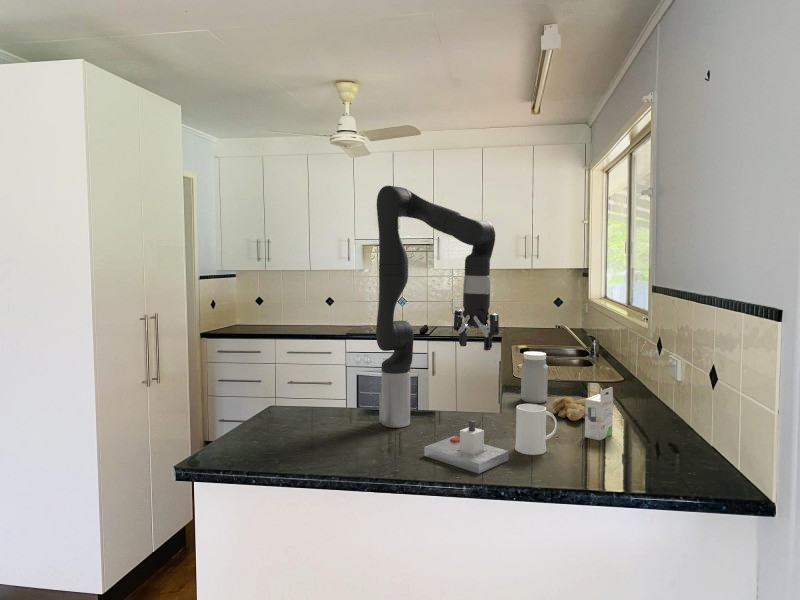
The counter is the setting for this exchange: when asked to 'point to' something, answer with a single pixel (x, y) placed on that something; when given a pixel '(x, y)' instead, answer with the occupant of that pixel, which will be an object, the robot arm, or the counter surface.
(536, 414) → the mug
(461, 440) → the plug
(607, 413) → the ink box
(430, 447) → the socket plate
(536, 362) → the jar
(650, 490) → the counter surface
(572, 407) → the ginger root
